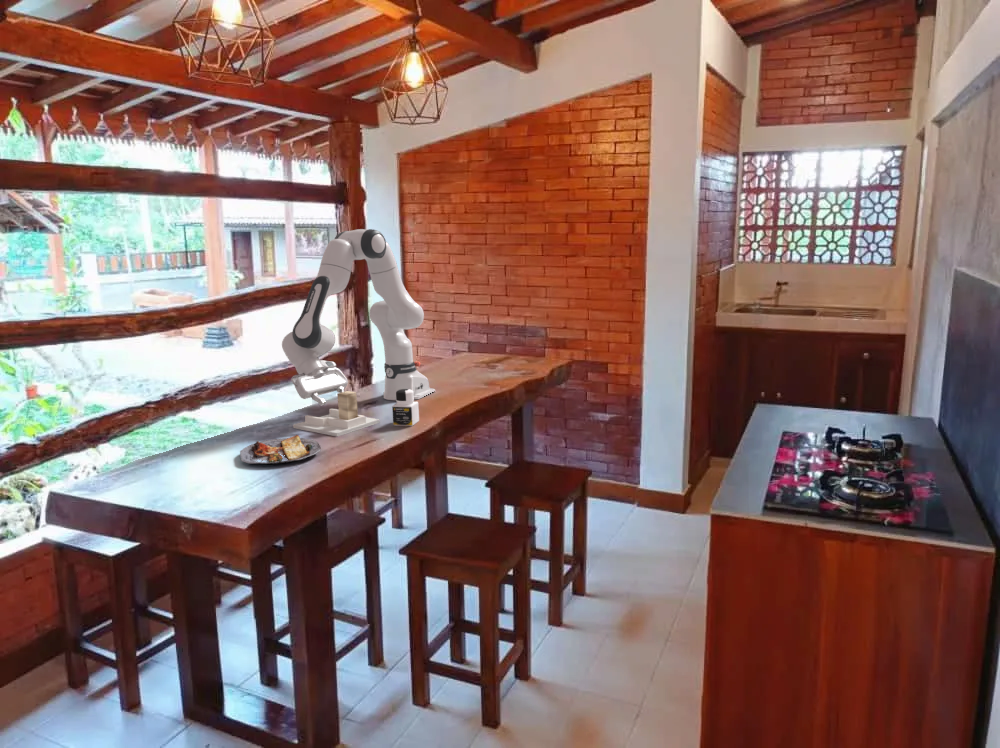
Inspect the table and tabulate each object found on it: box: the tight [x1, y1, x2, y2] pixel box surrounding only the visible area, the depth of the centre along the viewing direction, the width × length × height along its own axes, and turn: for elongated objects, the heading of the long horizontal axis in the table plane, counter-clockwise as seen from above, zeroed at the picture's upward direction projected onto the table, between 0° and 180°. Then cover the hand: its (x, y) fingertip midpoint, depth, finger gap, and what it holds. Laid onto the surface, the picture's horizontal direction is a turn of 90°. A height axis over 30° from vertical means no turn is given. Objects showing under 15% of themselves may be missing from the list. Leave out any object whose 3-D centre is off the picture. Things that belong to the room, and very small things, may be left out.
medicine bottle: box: [392, 389, 420, 427], centre depth 256 cm, size 7×7×12 cm
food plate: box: [239, 434, 321, 465], centre depth 225 cm, size 25×23×4 cm
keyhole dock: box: [292, 408, 381, 438], centre depth 257 cm, size 20×22×4 cm
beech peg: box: [337, 390, 359, 420], centre depth 253 cm, size 4×4×11 cm
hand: (333, 401), depth 257 cm, fingers open, 8 cm apart
